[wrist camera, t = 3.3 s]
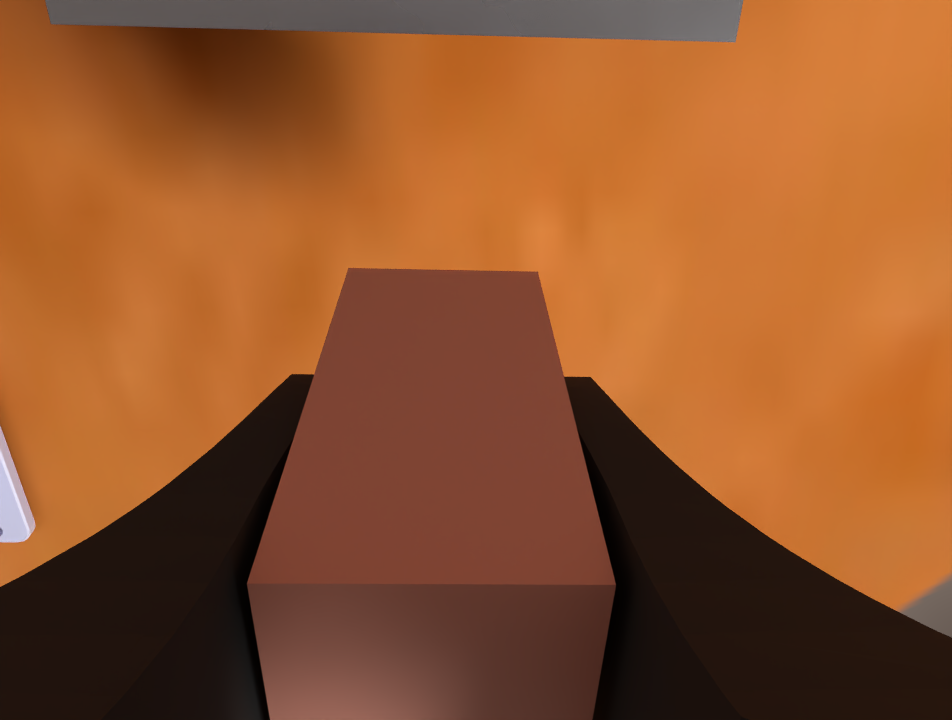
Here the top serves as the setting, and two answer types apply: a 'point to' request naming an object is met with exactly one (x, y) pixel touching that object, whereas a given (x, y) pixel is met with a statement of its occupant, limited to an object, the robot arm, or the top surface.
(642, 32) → the gray slotted base
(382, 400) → the reddish brown rectangular block
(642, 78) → the top surface
